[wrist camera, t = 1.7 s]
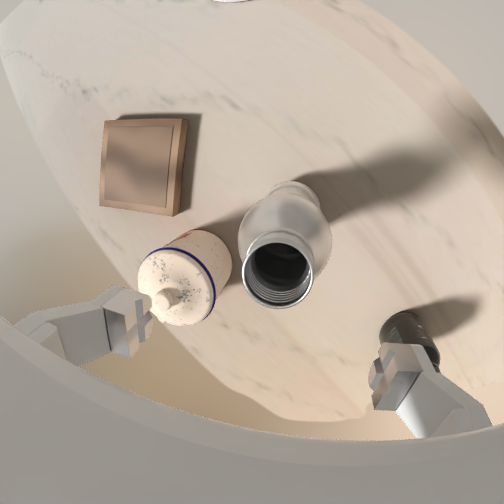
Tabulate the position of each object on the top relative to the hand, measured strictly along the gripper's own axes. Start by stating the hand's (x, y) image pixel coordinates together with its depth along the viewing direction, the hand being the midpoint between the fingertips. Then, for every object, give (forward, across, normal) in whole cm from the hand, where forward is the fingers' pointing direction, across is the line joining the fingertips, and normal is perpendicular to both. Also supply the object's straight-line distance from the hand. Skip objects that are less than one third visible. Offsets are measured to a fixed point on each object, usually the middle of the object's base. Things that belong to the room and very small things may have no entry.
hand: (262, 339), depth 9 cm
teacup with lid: (+25, +11, +10) cm, 29 cm away
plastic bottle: (+25, 0, 0) cm, 25 cm away
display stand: (+25, +20, -4) cm, 32 cm away
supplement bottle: (+25, -19, +14) cm, 34 cm away
